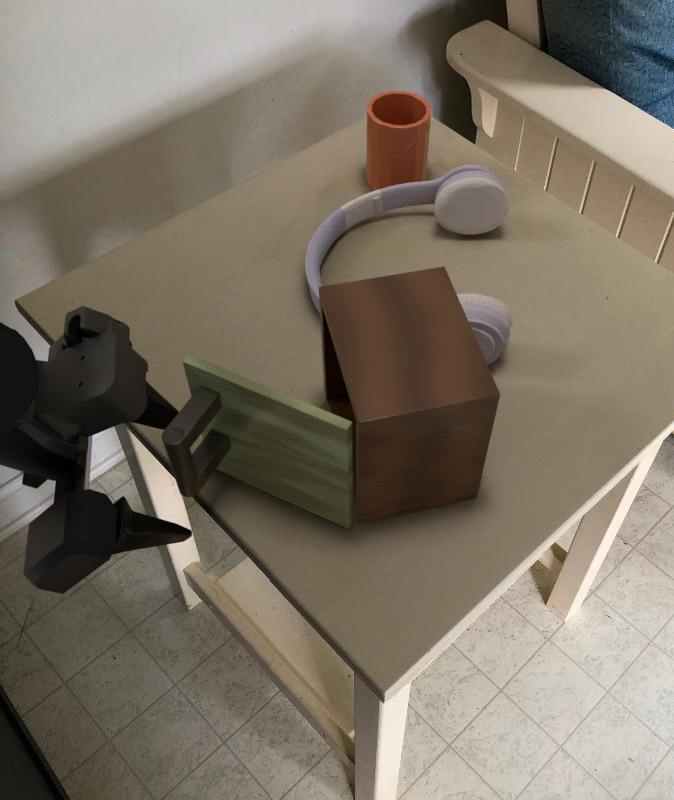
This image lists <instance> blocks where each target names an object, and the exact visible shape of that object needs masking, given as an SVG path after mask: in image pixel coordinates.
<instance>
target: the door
mask: <svg viewBox="0 0 674 800" xmlns="http://www.w3.org/2000/svg"><path fill="white" fill-rule="evenodd" d="M182 365H183V369H184V373H185V377H186V380H187V385H188V388H189V393H190V395H191V397H190V398H189V399H188V400H187V402H186V403H185V404H184V406H183V407H182V408H181V409H180V410H179V413H178V414H177V415H176V417H175V418H174V419H173V420H172V422H171V423H170V424H169V425H168V427H167V428H166V429H165V430H163V431H162V434H161V441H162V443H163V447H164V449H165V450H164V451H165V453H166V456H167V459H168V462H169V465H170V468H171V471H172V474H173V477H174V480H175V482H176V485H177V488H178V492H179V494H180V496H182V497H184V498H193V497H196V496H197V495H198V494H199V493H200V491H201V490H202V489H203V487H204V486H205V485H206V483H207V482H208V481H209V479H210V478H211V476H212V475H213V474H214V472H215V471H216V470H217V471H218V472H221V473H224V474H225V475H227V476H230V477H232V478H234V479H237V480H238V481H240V482H243V483H246V484H248V485H250V486H252V487H254V488H256V489H259V490H260V491H263V492H266V493H268V494H270V495H272V496H274V497H276V498H279V499H281V500H283V501H285V502H287V503H289V504H293V505H295V506H297V507H299V508H301V509H303V510H306V511H308V512H310V513H312V514H315V515H317V516H319V517H321V518H323V519H326V520H327V521H330V522H331V523H335V524H337V525H339V526H342V527H343V528H346V529H350V528H351V526H352V525H353V523H354V504H353V452H352V422H351V421H349V420H347V419H344V418H342V417H339V416H337V415H335V414H332V413H330V412H328V410H326V409H325V410H324V409H323V408H320V407H318V406H316V405H313V404H311V403H308V402H307V401H303V400H302V399H298V398H297V397H294V396H291V395H289V394H287V393H283V392H281V391H279V390H277V389H274V388H272V387H270V386H267V385H264V384H262V383H259V382H257V381H255V380H252V379H250V378H248V377H245V376H243V375H241V374H239V373H236V372H234V371H231V370H228V369H226V368H225V367H224V368H223V367H221V366H219V365H216V364H214V363H212V362H210V361H207V360H204V359H202V358H199V357H197V356H194V355H193V354H190V353H188V354H186V356H185V357H184V359H182ZM200 436H201V438H202V440H201V442H200V443H199V444H198V446H197V447H196V448H195V449H194V451H193V452H192V451H191V447H192V446H193V445H194V444H195V443H196V441H197V440H198V438H199V437H200Z"/></svg>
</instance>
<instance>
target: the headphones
mask: <svg viewBox="0 0 674 800" xmlns="http://www.w3.org/2000/svg"><path fill="white" fill-rule="evenodd" d="M424 205H433V214H434V217H435V220H436V222H437V223H438V224H439V225H440V226H441V227H442V228H444V229H446V230H448V231H450V232H452V233H455V234H460V235H465V236H466V235H469V236H471V235H480V234H486V233H488V232H491V231H493V230H495V229H497V228H498V227H500V225H501V224H502V223H503V222H504V221H505V220H506V217H507V215H508V214H509V211H510V199H509V196H508V192H507V190H506V188H505V185H504V184H503V182H502V181H501V180H500V179H499V178H498V177H497V176H496V175H495V173H494V172H492V170H490V169H488V168H487V167H484V166H481V165H479V164H463V165H460V166H457V167H454V168H452V169H450V170H449V171H448V172H446V173H444V174H443V175H442V176H441V177H438V178H435V179H432V180H431V179H430V180H425V181H421V182H411V183H404V184H399V185H394V186H389V187H386V188H382V189H379V190H375V191H372V190H371V191H370V192H367V193H365V194H362V195H360V196H357V197H356V198H354V199H352V200H350V201H348V202H346V203H345V204H343V205H342V206H340V207H338V208H337V209H336V210H334V211H333V212H332V213H331V214H329V215H328V217H326V218H325V219H324V220H323V221H322V222H321V223H320V225H318V227H317V229H316V230H315V231H314V233H313V235H312V236H311V238H310V239H309V240H310V241H309V242H308V245H307V249H306V251H305V258H304V259H305V260H304V268H305V269H304V270H305V275H306V280H307V286H308V288H309V289H308V290H309V293H310V296H311V300H312V303H313V304H314V307H315V308H316V311H317V312H318V313H319V314H320V302H319V287H322V286H323V283H322V282H323V281H322V278H321V267H322V264H323V261H324V260H325V257H326V254H327V253H328V251H329V249H330V247H331V246H332V245H333V243H334V242H335V241H336V240H337V239H338V238H339V237H341V235H343V234H344V233H346V231H347V230H348V229H350V228H351V227H353V226H355V225H356V224H358V223H360V222H362V221H364V220H367V219H369V218H370V217H373V216H376V215H380V214H382V213H386V212H388V211H393V210H396V209H402V208H407V207H414V206H424ZM456 294H457V296H458V299H459V301H460V303H461V305H462V308H463V310H464V312H465V315H466V317H467V319H468V321H469V324H470V326H471V328H472V331H473V333H474V335H475V337H476V340H477V342H478V344H479V347H480V349H481V351H482V354H483V356H484V358H485V360H486V363H487V365H488V366H489V365H491V364H492V363H493V362H495V361H496V360H497V359H498V358H499V357H500V356H501V355H502V353H503V351H504V348H507V346H508V345H509V342H510V337H511V328H512V326H513V315H512V312H511V310H510V309H509V307H508V306H507V304H505V303H504V302H503V301H501V300H499V299H497V298H495V297H491V296H489V295H484V294H480V293H456Z"/></svg>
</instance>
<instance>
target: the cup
mask: <svg viewBox="0 0 674 800" xmlns="http://www.w3.org/2000/svg"><path fill="white" fill-rule="evenodd" d="M431 119H432V106H431V105H430V104H429V102H428V101H427V99H425V98H424V97H423V96H420V95H419V94H416V93H414V92H410V91H406V90H389V91H385V92H381V93H378V94H376V95H375V96H373V97H372V98H370V100H369V102H368V103H367V104H366V169H365V170H366V171H365V172H366V174H365V175H366V176H365V177H366V178H365V179H366V184H367V185H368V188H369V189H370V190H371V192H372V191H375V190H379V189H382V188H386V187H389V186H394V185H399V184H404V183H411V182H421V181H427V169H428V157H429V144H430V132H431V121H432V120H431Z"/></svg>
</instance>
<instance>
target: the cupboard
mask: <svg viewBox="0 0 674 800" xmlns="http://www.w3.org/2000/svg"><path fill="white" fill-rule="evenodd" d="M457 294H458V293H457V291H456V289H455V287H454V284H453V283H452V280H451V278H450V276H449V274H448V271H447V269H446V267H445V266H438V267H431V268H425V269H420V270H419V269H418V270H414V271H413V270H412V271H408V272H402V273H395V274H389V275H384V276H377V277H371V278H365V279H359V280H353V281H347V282H341V283H335V284H329V285H322V287H319V302H320V313H319V318H320V319H319V320H320V337H321V338H320V340H321V356H322V357H321V358H322V377H323V392H324V393H323V394H324V395H323V396H324V401H325V402H324V403H325V405H326V409H327V412H330V413H332V414H335V415H337V416H339V417H342V418H344V419H347V420H349V421H351V422H352V452H353V508H354V512H355V515H356V518H357V522H358V524H360V525H361V524H365V523H370V522H374V521H379V520H383V519H389V518H392V517H397V516H402V515H406V514H410V513H415V512H419V511H424V510H428V509H433V508H438V507H443V506H447V505H450V504H455V503H459V502H460V503H461V502H464V501H468V500H473V499H477V498H478V495H479V492H480V491H479V490H480V487H481V486H480V485H481V481H482V478H483V473H484V469H485V464H486V460H487V455H488V452H489V451H488V450H489V447H490V442H491V438H492V433H493V429H494V423H495V419H496V415H497V412H498V406H499V403H500V398H501V393H500V391H499V388H498V385H497V383H496V381H495V378H494V376H493V374H492V372H491V370H490V367H489V364H488V365H487V363H486V360H485V358H484V356H483V354H482V351H481V349H480V347H479V344H478V342H477V340H476V337H475V335H474V333H473V331H472V328H471V326H470V324H469V321H468V319H467V317H466V315H465V312H464V310H463V308H462V305H461V303H460V301H459V299H458V296H457Z"/></svg>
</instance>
